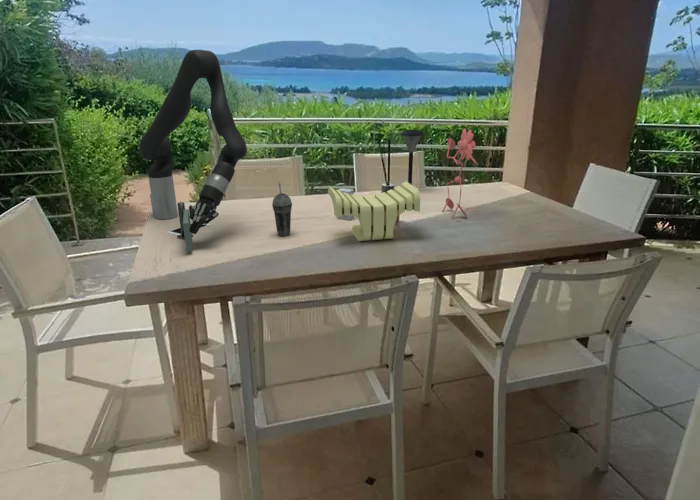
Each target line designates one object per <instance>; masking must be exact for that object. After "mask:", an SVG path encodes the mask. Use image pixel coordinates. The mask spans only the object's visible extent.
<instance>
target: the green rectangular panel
mask: <svg viewBox="0 0 700 500" xmlns="http://www.w3.org/2000/svg"><path fill="white" fill-rule="evenodd" d="M183 212H184V215H183V229H184V236H185V240H184V243H185V244H184V245H185V251H186V253H193V239H192V238H193V237H192V233H191V232H190V229H189V228H190V226H191V224H192V223H191V219H190V214H189V208H188V209H187V208H185V210H183Z"/></svg>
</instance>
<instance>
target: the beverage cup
mask: <svg viewBox="0 0 700 500" xmlns="http://www.w3.org/2000/svg"><path fill="white" fill-rule="evenodd" d="M278 188H279V193H278V194H276V195H275V196H274V198H273V199H272V209H273V214H274V219H275V224H276V226H275V227H276V232H277V236H278V237H289V236H290V235H291V223H292V221H291V220H292V218H291V216H292V209H293V208H292V206H293V203H292V199H291V197H290V195H288V194H286V193H282V190H281V189H282V187H281V182H278Z"/></svg>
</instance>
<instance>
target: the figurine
mask: <svg viewBox="0 0 700 500" xmlns="http://www.w3.org/2000/svg"><path fill="white" fill-rule="evenodd" d="M461 133H462V134H461V136H460V140H458V141H457V147H458V148H459V149H458V150H457V151H456V153H455V155H454V156H449V155H450V154H449V152H450V150H452V151H453V150H455V149H456V142H455V141H454V139H452V138H451V137H450V138H448V140H447V143H446V144H447V146H448V147H447V153H446V158H447V159H452V160H453V161H454V162H455V163H456V165H457V166H459V164H460V165H461V168H460V172H459V175H458V176H456V177H455V178H454V180H452V181H449V182H448V183H447V184H446V185H447V194H448V195H447V196H448V197H446V199H445V205H444V206H443V207H444V208H443V209H442V210H441V212H442V213H443V212H444V211H445V209H446V208H447V207H448V208H449V209H450V210H453V209H454V207H455V204H454V201H453V200H452V199H451V198H450V191H449V184H451V183H456V184H457V183H458V184H459V187H460V191H459V202H458V203H456V205H457V206H456V208H455V211H454V212H453V214H452V216H451V218H452V219H453V218H454V216H455V214H456V213H457V210H458V209H459V210H460V211H461V213H462V214H463V215H464V216H465V218H468V215H467V214H466V212H465V211H464V207H461V206H462V205H461V196H462V177H461V174H462V170H463V168H464V164H463V163H462V162H461V160H464V159H465V158H466V160H467V161H469V160H471V161H472V162H473V163H474V164H475V165H476V166H479V164H478V162H477V161H476V160H475V158H474V157H473V149H474V148H476V146H477V145H476V142H475V140H473V139H474V133H473V132H472V129H469V130H468V131H467V130H466V128H463V130H462V132H461ZM459 154H460V158H459V160H458V159H456V157H457V156H458V155H459ZM465 209H467V210H471V211H474V212H475V213H477V214H479V212H478V211H477V210H473V209H471V208H469V207H465ZM456 222H458V223H460V222H461V220H457V221H456Z"/></svg>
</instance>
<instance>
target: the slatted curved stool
mask: <svg viewBox="0 0 700 500" xmlns="http://www.w3.org/2000/svg"><path fill="white" fill-rule="evenodd" d="M327 193H328V196H329V197H330V199H331V201H332V205H333V214H334V216H335V218H336V219H337V218H338V217H341V216H342V214H344V215H345V216H347V215H350V214H352V215H353V216H354V218H355V217H356V218H357V219H358V221H359V224H353V225H352V228H351V229H350V231H351V233H352V234H353V235H354V236H355V238H356V240H357V241H358V242H366V241H376V240H377V241H378V240H390V239H394V228H395V224H396V222H397V219H398V215H399V216H400V215H402V214H404V213H405V211H407V212H413V211H414V212H418V213H419V212H421V193H420V191H419V189H418V188H417V187H415V186H414V185H413V184H412V185H411V184H410V183H408V180H407V181H406V180H405V181H404V182H402V183H401V184H400V185H398V186H395V187H393V189H389V190H387V191H386V192H384V191H383V192H380V193H376V194H374V195H372V194H371V195H370V194H369V195H362V196H361V195H359V194H358V195H357V194H354V195H352V194H350V195H351V196H350V195H349V194H348V193H344V192H343V194H342V192H341V191H339V190H338V189H334V187H333V186H332V187H331V186H330V185H328V186H327Z"/></svg>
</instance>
